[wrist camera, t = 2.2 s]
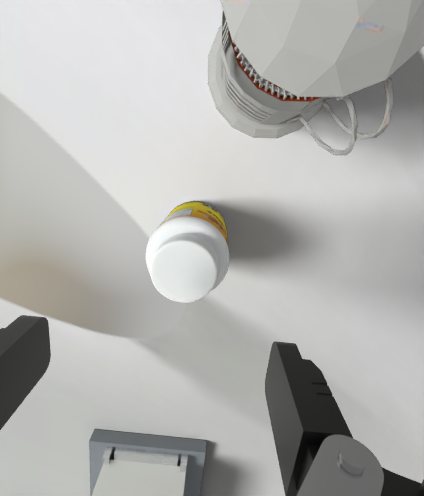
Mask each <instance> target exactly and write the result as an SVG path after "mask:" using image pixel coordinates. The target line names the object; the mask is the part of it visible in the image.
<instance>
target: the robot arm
mask: <svg viewBox="0 0 424 496" xmlns="http://www.w3.org/2000/svg"><path fill="white" fill-rule="evenodd" d="M50 356H51V353H50V339H49V326H48V320H47V319H46V318H45V317H35V316H25V315H22V316H20V317H18V318H17V319H16V320H15V321H14V322H12V323H11V324H10V325H9V326H8V327H6V328H2V329H0V430H1V428H2V427H3V426H4V425H5V423H6V422H7V421H8V420H9V418H10V417H11V416H12V414H13V413H14V412H15V411H16V409H17V408H18V407H19V405H20V404H21V403H22V402H23V400H24V399H25V398H26V396H27V395H28V394H29V393H30V391H31V390H32V389H33V387H34V386H35V385H36V384H37V382H38V381H39V380H40V379H41V377H42V376H43V375H44V373H45V372H46V370H47V368H48V365H49V362H50ZM265 394H266V400H267V405H268V410H269V415H270V420H271V425H272V430H273V435H274V440H275V445H276V450H277V455H278V460H279V465H280V470H281V475H282V480H283V485H284V490H285V495H286V496H424V480H423V482H422V484H421V483H418V482H416V481H413V480H411V479H408V478H405V477H403V476H400V475H398V474H395V473H393V472H390V471H388V470H386V469H384V468H382V467H381V465H380V463H379V461H378V460H377V458H376V457H375V456H374V454H373V453H372V452H371V451H370V450H369V449H368V448H367V447H366V446H364V445H363V444H362V443H360V442H359V441H357V440H355V439H353V437H352V435H351V433H350V431H349V428H348V426H347V424H346V422H345V420H344V418H343V416H342V414H341V412H340V409H339V407H338V405H337V403H336V401H335V399H334V397H332V393H331V390H330V388H329V386H327V382H326V380H325V378H324V376H323V374H322V372H321V370H320V369H319V368H318V367H317V366H316V365H315V364H314V363H313V362H312V361H311V360H305V359H302V357H301V355H300V352H299V350H298V348H297V345H296V344H294V343H284V342H273V344H272V348H271V353H270V358H269V363H268V368H267V373H266V379H265Z"/></svg>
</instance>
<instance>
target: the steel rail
mask: <svg viewBox="0 0 424 496" xmlns="http://www.w3.org/2000/svg"><path fill="white" fill-rule="evenodd" d="M178 455H179V453H170V452H160V451H150V450H140V449H130V448H120V447H116V449H115V452H114V460H121V461H131V462H141V463H152V464H162V465H172V466H177V465H178ZM187 459H188V454H182V456H181V464H180V472H186V468H187ZM111 460H113V447H110V446H107V447H106V450H105V452H104V455H103V464H105V465H109V464H110V461H111ZM185 477H186V473H185ZM184 486H185V483H184ZM183 495H184V493H183Z"/></svg>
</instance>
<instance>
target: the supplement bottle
mask: <svg viewBox="0 0 424 496" xmlns="http://www.w3.org/2000/svg"><path fill="white" fill-rule="evenodd" d="M146 263H147V267H148V270H149V273H150V275H151V278H152V281H153V284H154V285H155V287H156V289H157V290H158V291H159V292H160V293H161V294H162V295H164V296H165V297H166V298H168V299H170V300H173V301H176V302H182V303H188V302H194V301H197V300H199V299H201V298H203V297H205V296H206V295H207V294H208V293H209V292H210V291H212V290H213V289H214V288H216V287H217V286H218V285H219V284H220V282H221V281H222V280H223V278H224V277H225V275H226V273H227V270H228V266H229V247H228V238H227V229H226V224H225V221H224V219H223V217H222V216H221V214H220V213H219V212H218V211H217V210H216V209H215V208H214V207H213V206H211V205H209V204H207V203H204V202H200V201H190V202H185V203H183V204H181V205H179V206H177V207H176V208H175V209H173V210H172V211H171V212H170V214H169V215H168V216H167V217H166V218H165V220H164V221H163V222H162V223H161V224H160V226H159V227H158V228H157V229H156V230H155V232H154V233H153V234H152V236H151V238H150V240H149V242H148V245H147V249H146Z"/></svg>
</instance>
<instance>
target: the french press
mask: <svg viewBox="0 0 424 496" xmlns="http://www.w3.org/2000/svg"><path fill="white" fill-rule="evenodd" d="M220 1H221V4H222V7H223V18H222V26H221V27H220V28H219V29H218V32H217V35H216V37H215V40H214V42H213V45H212V48H211V50H210V53H209V55H208V85H209V88H210V91H211V94H212V97H213V100H214V103H215V106H216V109H217V110H218V111H219V112H220V113H221V114H222V116H223V117H224V118H225V119H226V120H227V121H228V123H229V124H230V125H231V126H232V127H233V128H235V129H237V130H239V131H241V132H243V133H245V134H247V135H249V136H252V137H254V138H279V137H281V136H284V135H286V134H289V133H291V132H294V131H296V130H299V129H300V128H301V127H302V126H304V125H305V127H306V128H307V129H308V131H309V132H310V134H311V135H312V137H313V138H314V139H315V141H316V142H317V143H318V145H319V146H321V147H322V148H324V149H326V150H327V151H329V152H330V153H332V154H333V155H348V154H349V153H350V152H351V151H352V149H353V146H354V143H355V141H356V138H359V139H366V138H376V137H377V136H378V135H380V134H381V133H382V132H383V131H384V130H385V128H386V127H387V125H388V123H389V122H390V117H391V112H392V107H393V91H392V79H391V78H390V77H389V76H391V75H392V74H393V73H394V72H395V71H396V70H397V69H398V68H400V67H401V66H402V65H403V64H404V63H405V62H406V61H407V60H408V59H410V58H411V57H412V56H413V55H414V54H415V53H416V52H417V51H418V50H420V49H421V48H422V47H423V46H424V0H220ZM381 81H384V85H385V92H386V99H387V105H386V110H385V115H384V120H383V122H382V124H381V125H380V127H379V129H378V130H377V131H376V132H373V133H368V134H362V133H358V132H357V127H358V123H357V118H356V113H355V109H354V104H353V102H352V100H351V99H350V97H349V96H348V95H349V94H351V93H354V92H356V91H359V90H361V89H364V88H366V87H369V86H371V85H374V84H376V83H379V82H381ZM330 97H336V101H339V100H344V101H345V102H346V104H347V106H348V109H349V113H350V118H351V123H352V129H349V128H347V127H346V126H345V125H344V124H343V123H342V122H341V121H340V120H339V119H338V117H337V116H336V115H335V113H334V112H333V111H332V109H331V108H330V107H329V105H328V104H327V103H326V102H325V100H326V99H328V98H330ZM322 105H324V106H325V108H326V109H327V110H328V112H329V113H330V114H331V116H332V117H333V118H334V120H335V121H336V122H337V123H338V124H339V126H340V127H341V128H342V129H343V130H344V131H346V132H347V133H349V134H350V135H351V141H350V143H349V146H348V148H347V149H346V150H344V151H343V150H335V149H332V148H331V147H329V146H328V145H326V144H325V143H324V142H323V141H322V140H321V139H320V138H319V137H318V136H317V135H316V134H315V132H314V131H313V130H312V128H311V127H310V126H309V124H308V123H307V122H308V121H309V120H310V119H311V118H312V117H313V116H314V115H315V114H316V113H318V112H319V110H320V108H321V106H322Z"/></svg>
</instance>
